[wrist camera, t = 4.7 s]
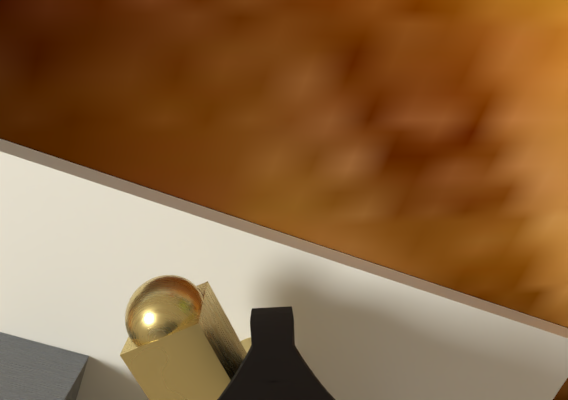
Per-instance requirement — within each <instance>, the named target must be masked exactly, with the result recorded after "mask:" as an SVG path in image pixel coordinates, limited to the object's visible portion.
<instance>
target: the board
mask: <svg viewBox="0 0 568 400" xmlns="http://www.w3.org/2000/svg"><path fill="white" fill-rule="evenodd" d="M162 275H176V276H180V277H183V278H186V279H188V280H189V281H191V282H192V283H194V284H195V285H196V286H197V285H200V284H202V283H205V282H207V281H208V283H209V284H210V286H211V288H212V290H213V292H214V294H215V295H216V297H217V299H218V301H219V303H220V305H221V307H222V308H223V310H224V312H225V314H226V316H227V318H228V319H229V321H230V323H231V325H232V327H233V329H234V330H235V332H236V334H237V336H238V338H239V340H240V342H241V343H242V345H243V347H244V349H245V351H246V353H248V351H249V349H250V347H251V331H250V317H251V310H252V308H269V307H288V306H292V310H293V317H294V335H295V346H296V348H297V349H298V351H299V353H300V354H301V356H302V358H303V359H304V361H305V362H306V363H307V365H308V366H309V368H310V369H311V370H312V372H313V373H314V375H315V376H316V377H317V379H318V380H319V381H320V382H321V384H322V385H323V386H324V387H325V389H326V390H327V391H328V392H329V393H330V394H331V395H332V397H333V398H334V399H335V400H553V399H554V397H555V396H556V394H557V393H558V391H559V390H560V388H561V387H562V385H563V384H564V382H565V381H566V379H567V378H568V328H566V327H563V326H560V325H557V324H554V323H551V322H548V321H545V320H542V319H539V318H536V317H533V316H530V315H527V314H524V313H521V312H518V311H515V310H512V309H509V308H506V307H503V306H500V305H497V304H494V303H491V302H488V301H485V300H482V299H479V298H476V297H473V296H470V295H467V294H464V293H461V292H458V291H455V290H452V289H449V288H446V287H443V286H440V285H437V284H434V283H431V282H428V281H425V280H422V279H419V278H416V277H413V276H410V275H407V274H404V273H401V272H398V271H395V270H392V269H389V268H386V267H383V266H380V265H377V264H374V263H371V262H368V261H365V260H362V259H359V258H356V257H353V256H350V255H347V254H344V253H341V252H338V251H335V250H332V249H329V248H326V247H323V246H320V245H317V244H314V243H311V242H308V241H305V240H302V239H299V238H296V237H293V236H290V235H287V234H284V233H281V232H278V231H275V230H272V229H269V228H266V227H263V226H260V225H257V224H254V223H251V222H248V221H245V220H242V219H239V218H236V217H233V216H230V215H227V214H224V213H221V212H218V211H215V210H212V209H209V208H206V207H203V206H200V205H197V204H194V203H191V202H188V201H185V200H182V199H179V198H176V197H173V196H170V195H167V194H164V193H162V192H159V191H156V190H153V189H150V188H147V187H144V186H141V185H138V184H135V183H132V182H129V181H126V180H123V179H120V178H117V177H114V176H111V175H108V174H105V173H102V172H99V171H96V170H93V169H90V168H87V167H84V166H81V165H78V164H75V163H72V162H69V161H66V160H63V159H60V158H57V157H54V156H51V155H48V154H45V153H42V152H39V151H36V150H33V149H30V148H27V147H24V146H21V145H18V144H15V143H12V142H9V141H6V140H3V139H0V332H2V333H6V334H10V335H13V336H17V337H21V338H25V339H28V340H32V341H36V342H39V343H43V344H47V345H51V346H54V347H58V348H62V349H66V350H69V351H73V352H77V353H81V354H84V355H88V356H89V358H88V361H87V365H86V368H85V371H84V375H83V378H82V382H81V385H80V388H79V392H78V395H77V398H76V400H149V399H148V397H147V396H146V394H145V393H144V391H143V390H142V388H141V387H140V385H139V384H138V382H137V381H136V379H135V378H134V376H133V375H132V373H131V372H130V370H129V369H128V367H127V366H126V364H125V362H124V361H123V359H122V358H121V356H120V353H121V351H122V349H123V347H124V345H125V343H126V341H127V338H128V336H129V335H128V333H127V330H126V326H125V312H126V307H127V304H128V302H129V300H130V298H131V296H132V295H133V293H134V292H135V291H136V289H137V288H138V287H140V286H141V285H142V284H143V283H145V282H146V281H148V280H150V279H152V278H154V277H157V276H162Z"/></svg>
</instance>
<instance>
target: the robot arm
mask: <svg viewBox="0 0 568 400" xmlns="http://www.w3.org/2000/svg"><path fill="white" fill-rule="evenodd" d="M250 331H251V347H250V349H249V351H248V353H247V355H246V356H245V358H244V360H243V362H242V363H241V365H240V366H239V368H238V370H237V371H236V373H235V375H234V376H233V378H232V380H231V381H230V383H229V384H228V385H227V387H226V388H225V390H224V391H223V393H222V394H221V395H220V397H219V398H218V399H217V400H335V399H334V398H333V397H332V395H331V394H330V393H329V392H328V391H327V390H326V389H325V387H324V386H323V385H322V384H321V382H320V381H319V380H318V379H317V377H316V376H315V375H314V373H313V372H312V370H311V369H310V368H309V366H308V365H307V363H306V362H305V361H304V359H303V358H302V356H301V354H300V353H299V351H298V349H297V348H296V346H295V335H294V317H293V310H292V306H288V307H269V308H252V310H251V317H250Z"/></svg>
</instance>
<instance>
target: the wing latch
mask: <svg viewBox="0 0 568 400" xmlns="http://www.w3.org/2000/svg"><path fill="white" fill-rule="evenodd" d="M125 326H126V330H127V333H128V335H129V336H128V338H127V341H126V343H125V345H124V347H123V349H122V351H121V353H120V356H121V358H122V359H123V361H124V362H125V364H126V366H127V367H128V369H129V370H130V372H131V373H132V375H133V376H134V378H135V379H136V381H137V382H138V384H139V385H140V387H141V388H142V390H143V391H144V393H145V394H146V396H147V397H148V399H149V400H217V399H218V398H219V397H220V395H221V394H222V393H223V391H224V390H225V388H226V387H227V385H228V384H229V383H230V381H231V380H232V378H233V376H234V375H235V373H236V371H237V370H238V368H239V366H240V365H241V363H242V362H243V360H244V358H245V356H246V355H247V353H246V351H245V349H244V347H243V345H242V343H241V342H240V340H239V338H238V336H237V334H236V332H235V330H234V329H233V327H232V325H231V323H230V321H229V319H228V318H227V316H226V314H225V312H224V310H223V308H222V307H221V305H220V303H219V301H218V299H217V297H216V295H215V294H214V292H213V290H212V288H211V286H210V284H209V283H208V281H207V282H205V283H202V284H200V285H197V286H196V285H195V284H194V283H192V282H191V281H189V280H188V279H186V278H183V277H180V276H176V275H162V276H157V277H154V278H152V279H150V280H148V281H146V282H145V283H143V284H142V285H141V286H140V287H138V288H137V289H136V291H135V292H134V293H133V295H132V296H131V298H130V300H129V302H128V304H127V307H126V312H125Z"/></svg>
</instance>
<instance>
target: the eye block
mask: <svg viewBox="0 0 568 400" xmlns="http://www.w3.org/2000/svg"><path fill="white" fill-rule="evenodd" d="M88 358H89V356H88V355H84V354H81V353H77V352H73V351H69V350H66V349H62V348H58V347H54V346H51V345H47V344H43V343H39V342H36V341H32V340H28V339H25V338H21V337H17V336H13V335H10V334H6V333H2V332H0V400H76V398H77V395H78V392H79V388H80V385H81V382H82V378H83V375H84V371H85V368H86V365H87V361H88Z"/></svg>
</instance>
